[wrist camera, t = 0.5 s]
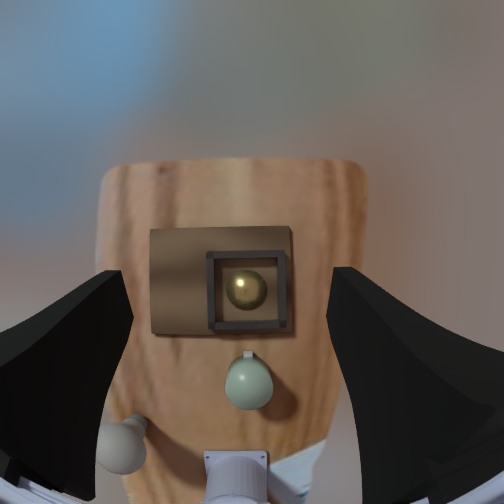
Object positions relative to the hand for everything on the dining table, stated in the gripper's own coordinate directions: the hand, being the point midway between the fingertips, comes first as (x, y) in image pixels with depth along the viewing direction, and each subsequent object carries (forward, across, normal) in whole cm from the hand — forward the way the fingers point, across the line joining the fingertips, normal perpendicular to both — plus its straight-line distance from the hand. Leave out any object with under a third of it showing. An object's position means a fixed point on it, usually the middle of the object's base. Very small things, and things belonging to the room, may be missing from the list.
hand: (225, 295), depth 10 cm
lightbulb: (+10, +14, +27) cm, 32 cm away
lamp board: (+20, +3, +12) cm, 23 cm away
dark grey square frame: (+19, 0, +13) cm, 23 cm away
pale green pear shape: (+14, 0, +21) cm, 26 cm away
